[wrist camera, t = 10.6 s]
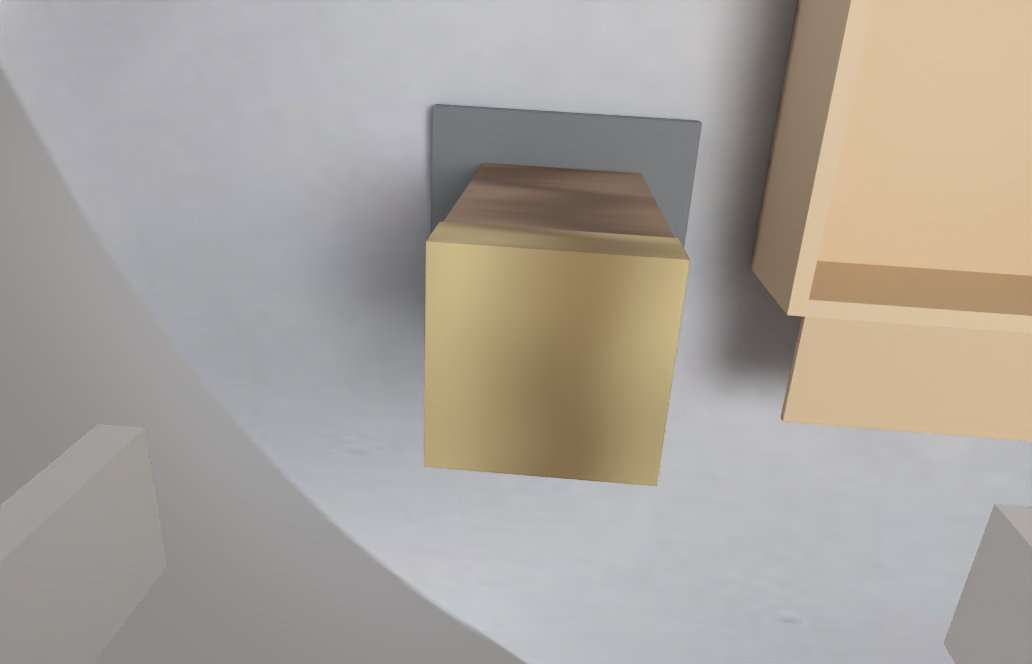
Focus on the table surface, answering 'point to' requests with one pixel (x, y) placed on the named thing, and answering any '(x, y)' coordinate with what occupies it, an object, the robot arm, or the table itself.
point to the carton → (905, 216)
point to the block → (552, 326)
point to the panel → (564, 151)
